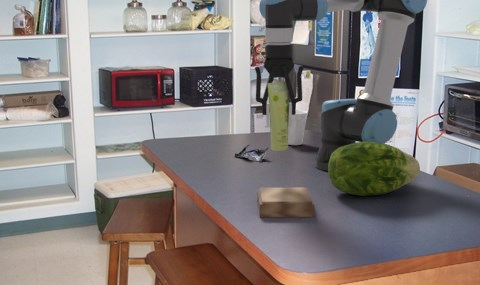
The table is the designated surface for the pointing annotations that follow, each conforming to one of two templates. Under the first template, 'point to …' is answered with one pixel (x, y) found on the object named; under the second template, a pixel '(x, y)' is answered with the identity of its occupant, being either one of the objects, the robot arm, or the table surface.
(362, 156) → the lettuce
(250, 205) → the table surface
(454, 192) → the table surface
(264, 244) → the table surface
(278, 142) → the tube
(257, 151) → the snack package
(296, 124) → the cup
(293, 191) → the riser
